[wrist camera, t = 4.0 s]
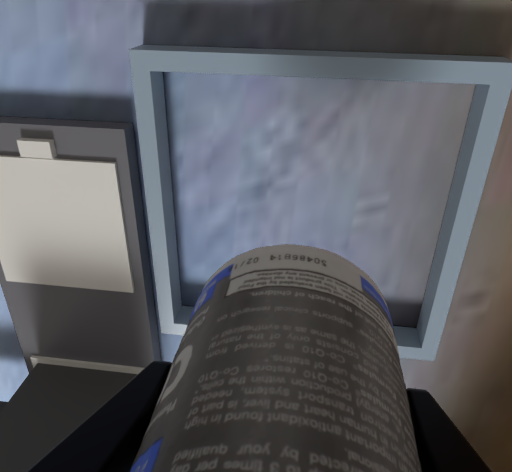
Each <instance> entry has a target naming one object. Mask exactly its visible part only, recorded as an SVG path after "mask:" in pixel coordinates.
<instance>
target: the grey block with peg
mask: <svg viewBox="0 0 512 472" xmlns="http://www.w3.org/2000/svg"><path fill="white" fill-rule="evenodd" d="M136 375H137V374H131V373H123V372H114V371H105V370H96V369H87V368H78V367H70V366H61V365H52V364H43V363H37V364H36V366H35V367H34V368H33V370H32V371H31V372H30V374H29V375H28V376H27V378H26V379H25V380H24V382H23V383H22V384H21V386H20V387H19V388H18V390H17V391H16V392H15V394H14V395H13V396H12V398H11V399H10V400H9V402H3V401H0V472H27V471H28V470H29V469H30V468H31V467H33V466H34V465H35V464H36V463H37V462H38V461H39V460H41V459H42V458H43V457H44V456H45V455H46V454H47V453H48V452H50V451H51V450H52V449H53V448H54V447H55V446H56V445H58V444H59V443H60V442H61V441H62V440H63V439H64V438H66V437H67V436H68V435H69V434H70V433H71V432H72V431H74V430H75V429H76V428H77V427H78V426H79V425H80V424H82V423H83V422H84V421H85V420H86V419H87V418H88V417H89V416H91V415H92V414H93V413H94V412H95V411H96V410H97V409H99V408H100V407H101V406H102V405H103V404H104V403H105V402H107V401H108V400H109V399H110V398H111V397H112V396H113V395H115V394H116V393H117V392H118V391H119V390H120V389H121V388H123V387H124V386H125V385H126V384H127V383H128V382H129V381H130V380H132V379H133V378H134V377H135V376H136Z"/></svg>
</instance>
